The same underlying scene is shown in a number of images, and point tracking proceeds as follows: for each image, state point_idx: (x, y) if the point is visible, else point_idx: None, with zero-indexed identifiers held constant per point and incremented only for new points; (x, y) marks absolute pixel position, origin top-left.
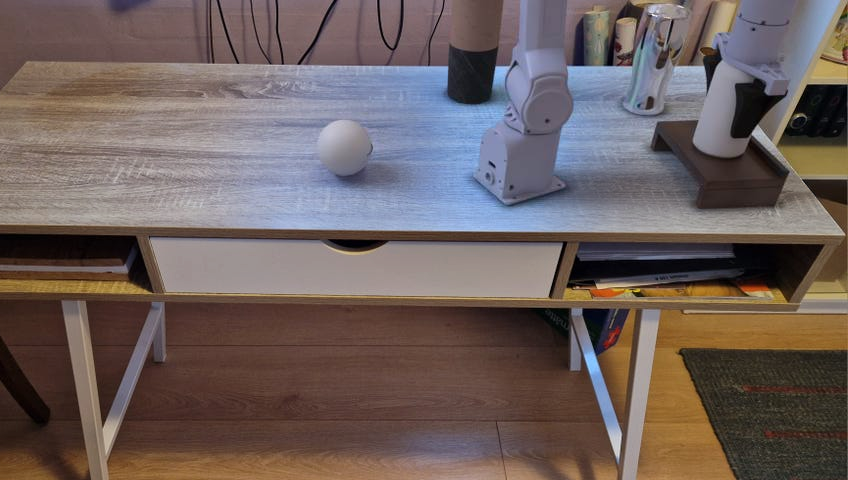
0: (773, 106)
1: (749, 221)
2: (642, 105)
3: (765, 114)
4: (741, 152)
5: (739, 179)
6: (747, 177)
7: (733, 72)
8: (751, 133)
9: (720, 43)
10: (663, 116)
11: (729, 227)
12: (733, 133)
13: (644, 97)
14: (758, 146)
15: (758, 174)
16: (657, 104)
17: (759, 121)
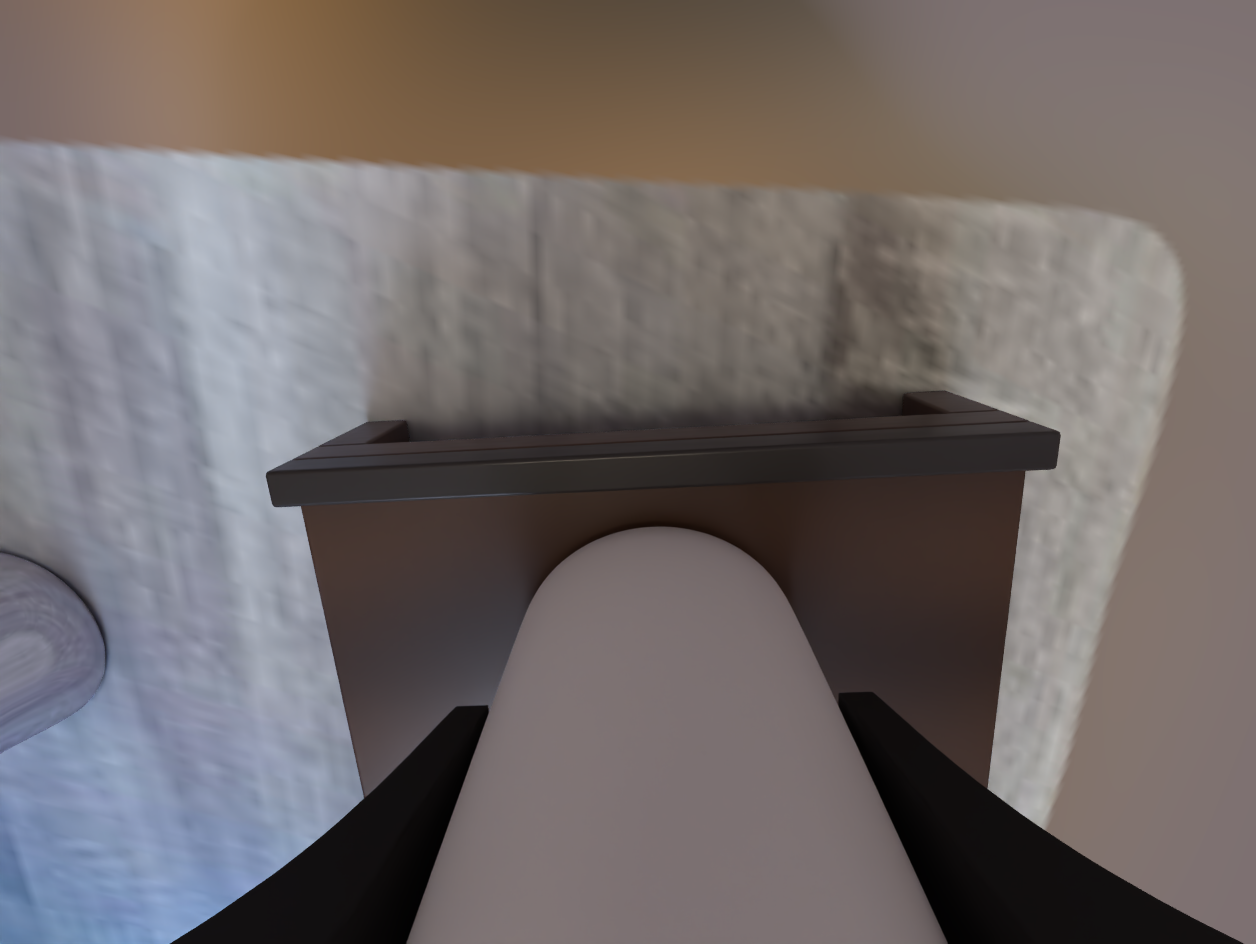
0: (1146, 895)
1: (1040, 553)
2: (60, 701)
3: (1030, 822)
4: (785, 596)
5: (995, 668)
6: (986, 625)
7: None
8: (780, 620)
9: None
10: (96, 574)
11: (1064, 643)
12: None
13: (13, 725)
14: (738, 482)
15: (964, 557)
16: (36, 636)
17: (962, 773)
